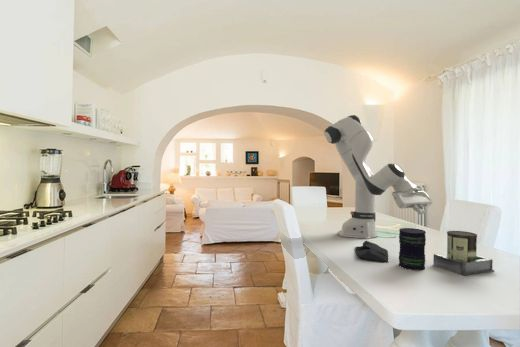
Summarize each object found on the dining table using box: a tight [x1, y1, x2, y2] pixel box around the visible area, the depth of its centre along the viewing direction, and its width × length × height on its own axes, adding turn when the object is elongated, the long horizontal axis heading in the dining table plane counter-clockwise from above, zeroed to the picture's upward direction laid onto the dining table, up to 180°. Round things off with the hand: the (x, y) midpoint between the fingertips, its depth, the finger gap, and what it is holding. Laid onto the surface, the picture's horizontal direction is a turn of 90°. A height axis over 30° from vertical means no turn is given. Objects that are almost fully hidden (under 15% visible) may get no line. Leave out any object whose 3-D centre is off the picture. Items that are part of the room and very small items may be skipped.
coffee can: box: [446, 230, 478, 262], centre depth 126 cm, size 10×10×14 cm
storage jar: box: [398, 227, 427, 271], centre depth 126 cm, size 10×10×15 cm
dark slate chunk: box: [354, 240, 389, 263], centre depth 143 cm, size 15×22×5 cm
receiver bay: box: [432, 253, 495, 277], centre depth 125 cm, size 14×16×4 cm
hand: (422, 213), depth 147 cm, fingers closed
